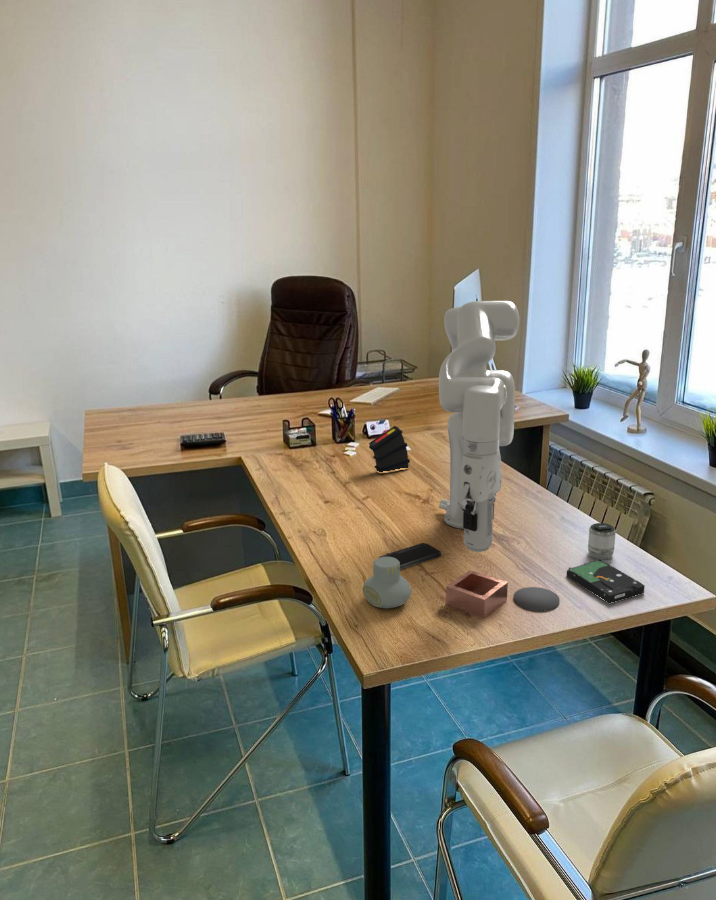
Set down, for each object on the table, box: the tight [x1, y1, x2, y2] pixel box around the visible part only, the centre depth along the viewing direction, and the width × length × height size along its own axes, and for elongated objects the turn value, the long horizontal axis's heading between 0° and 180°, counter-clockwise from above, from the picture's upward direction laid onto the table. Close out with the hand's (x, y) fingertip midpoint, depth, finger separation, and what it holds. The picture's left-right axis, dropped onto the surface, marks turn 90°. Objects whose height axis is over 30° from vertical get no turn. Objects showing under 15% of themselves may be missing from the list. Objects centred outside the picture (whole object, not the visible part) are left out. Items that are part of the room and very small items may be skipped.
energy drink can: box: [463, 492, 494, 553], centre depth 165 cm, size 6×6×15 cm
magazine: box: [368, 425, 411, 472], centre depth 252 cm, size 4×13×15 cm, turn 115°
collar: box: [445, 569, 509, 619], centre depth 170 cm, size 10×10×4 cm
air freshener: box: [362, 556, 412, 609], centre depth 171 cm, size 11×8×10 cm
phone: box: [378, 542, 442, 571], centre depth 193 cm, size 8×1×15 cm
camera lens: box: [587, 522, 617, 561], centre depth 190 cm, size 6×6×8 cm
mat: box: [513, 586, 561, 612], centre depth 171 cm, size 10×10×1 cm
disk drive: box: [566, 559, 645, 604], centre depth 177 cm, size 10×3×15 cm
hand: (478, 523), depth 165 cm, fingers closed on energy drink can, 6 cm apart
